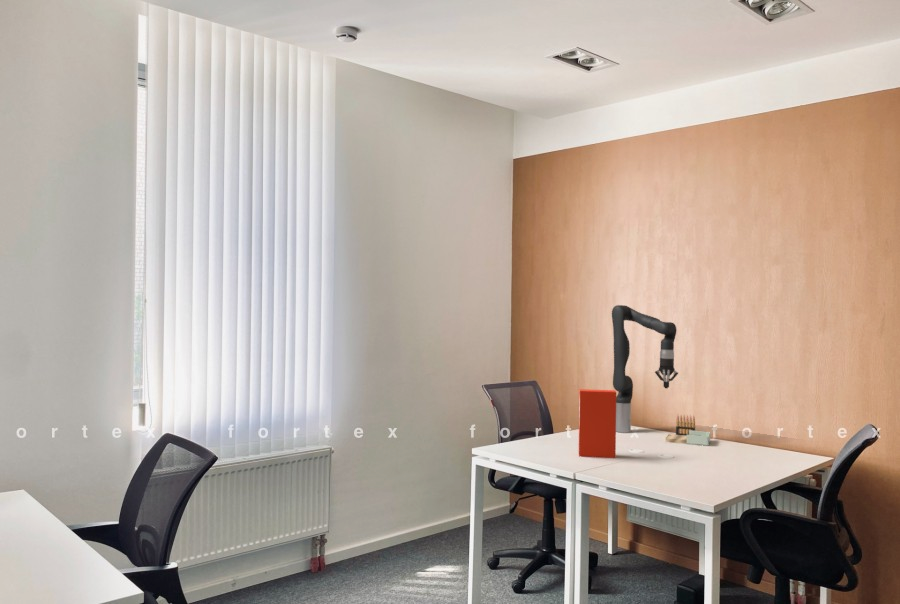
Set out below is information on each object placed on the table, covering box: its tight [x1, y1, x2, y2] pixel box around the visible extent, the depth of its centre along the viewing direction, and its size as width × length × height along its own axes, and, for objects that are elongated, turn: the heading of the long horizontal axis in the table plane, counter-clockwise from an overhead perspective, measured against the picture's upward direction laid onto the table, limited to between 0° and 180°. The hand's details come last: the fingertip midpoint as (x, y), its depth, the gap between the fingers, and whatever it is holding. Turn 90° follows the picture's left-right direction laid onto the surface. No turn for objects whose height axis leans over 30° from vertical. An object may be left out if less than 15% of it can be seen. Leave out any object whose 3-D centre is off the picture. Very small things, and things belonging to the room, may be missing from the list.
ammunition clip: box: [675, 414, 696, 436], centre depth 386 cm, size 11×2×12 cm, turn 67°
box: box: [686, 430, 711, 447], centre depth 364 cm, size 11×16×5 cm
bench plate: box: [665, 433, 688, 445], centre depth 369 cm, size 11×14×2 cm
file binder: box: [578, 388, 617, 459], centre depth 326 cm, size 8×17×32 cm, turn 81°
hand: (666, 388), depth 374 cm, fingers closed
